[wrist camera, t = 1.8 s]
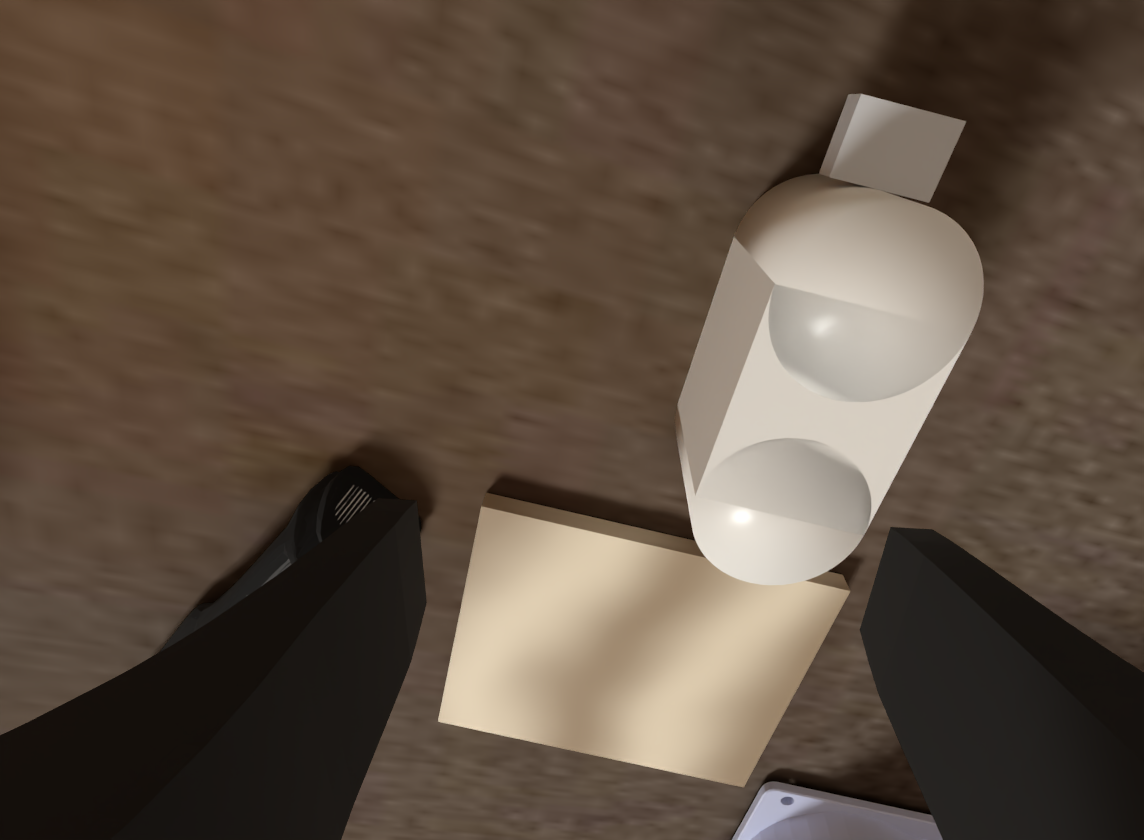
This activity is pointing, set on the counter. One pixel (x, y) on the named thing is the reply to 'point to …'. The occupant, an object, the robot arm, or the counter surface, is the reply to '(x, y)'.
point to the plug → (826, 348)
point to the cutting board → (626, 643)
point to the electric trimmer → (296, 538)
